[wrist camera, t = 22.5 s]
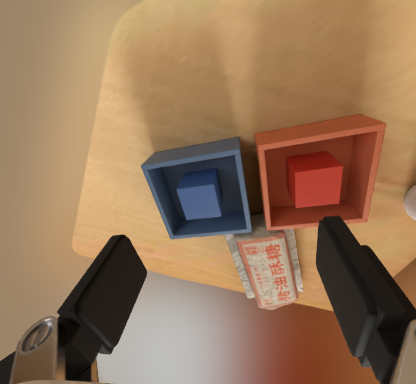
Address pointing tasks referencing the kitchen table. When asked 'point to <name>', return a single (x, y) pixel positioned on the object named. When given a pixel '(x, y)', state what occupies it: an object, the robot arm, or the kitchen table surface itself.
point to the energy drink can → (411, 202)
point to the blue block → (201, 194)
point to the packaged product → (267, 264)
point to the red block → (314, 179)
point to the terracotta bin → (310, 143)
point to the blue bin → (196, 161)
